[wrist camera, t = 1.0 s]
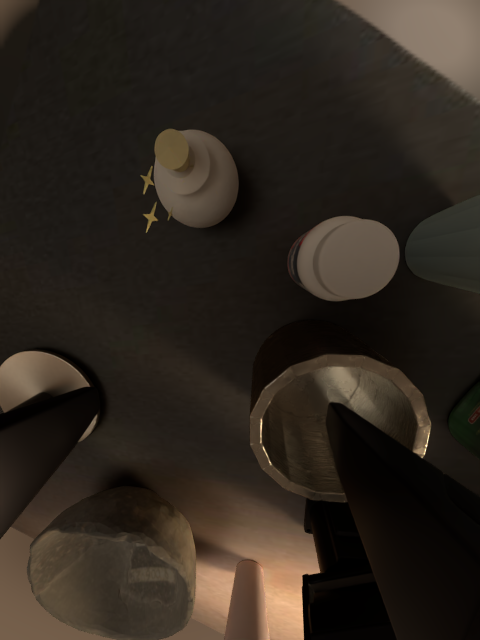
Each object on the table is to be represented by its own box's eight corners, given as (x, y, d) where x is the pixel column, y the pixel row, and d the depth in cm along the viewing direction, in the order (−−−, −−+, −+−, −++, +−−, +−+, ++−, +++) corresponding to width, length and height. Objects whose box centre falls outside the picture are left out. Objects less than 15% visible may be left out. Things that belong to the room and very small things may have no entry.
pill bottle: (303, 219, 19) (339, 183, 10) (358, 244, 19) (438, 228, 11) (277, 277, 20) (289, 286, 12) (328, 299, 20) (377, 325, 12)
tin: (358, 422, 23) (412, 508, 15) (253, 417, 24) (249, 495, 16) (373, 320, 21) (448, 357, 12) (253, 318, 22) (249, 352, 13)
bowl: (110, 562, 33) (64, 655, 25) (58, 467, 29) (-15, 542, 21) (226, 553, 30) (215, 653, 22) (186, 447, 26) (155, 524, 18)
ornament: (253, 175, 19) (246, 79, 9) (218, 258, 20) (181, 254, 11) (188, 142, 18) (108, 8, 9) (159, 229, 20) (67, 199, 11)
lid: (111, 441, 27) (82, 476, 23) (20, 436, 28) (-25, 468, 24) (94, 348, 24) (56, 367, 20) (-7, 345, 25) (-64, 363, 21)
